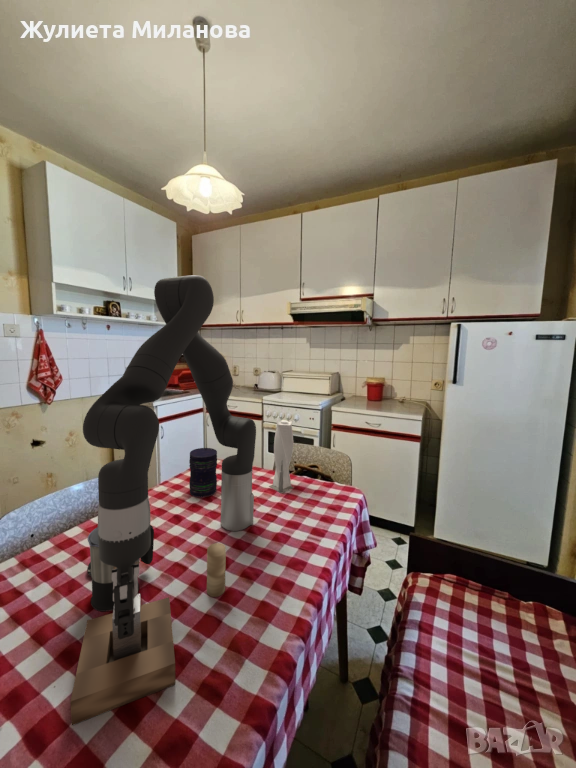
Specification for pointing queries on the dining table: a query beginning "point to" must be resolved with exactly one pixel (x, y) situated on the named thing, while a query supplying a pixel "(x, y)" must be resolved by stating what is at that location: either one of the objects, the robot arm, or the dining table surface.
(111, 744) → the dining table surface
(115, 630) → the square peg
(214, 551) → the round dowel
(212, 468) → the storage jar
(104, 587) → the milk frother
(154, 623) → the bore block
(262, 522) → the dining table surface
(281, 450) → the skyscraper
